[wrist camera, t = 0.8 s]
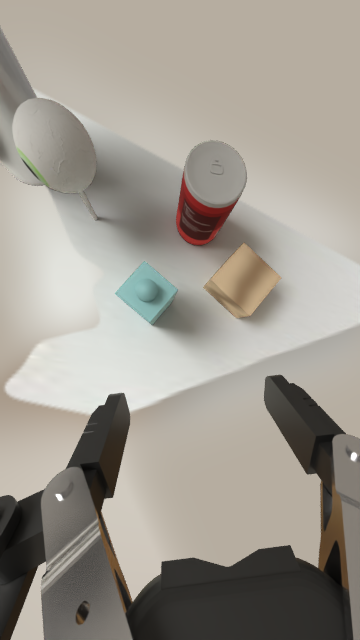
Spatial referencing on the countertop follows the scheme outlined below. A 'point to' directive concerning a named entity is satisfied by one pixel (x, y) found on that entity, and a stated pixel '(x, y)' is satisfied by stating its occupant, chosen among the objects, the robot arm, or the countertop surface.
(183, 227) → the canned food
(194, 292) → the countertop surface
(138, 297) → the teal brick
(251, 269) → the wooden block
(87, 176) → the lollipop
